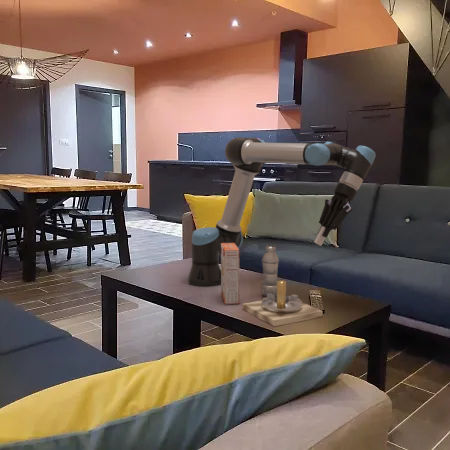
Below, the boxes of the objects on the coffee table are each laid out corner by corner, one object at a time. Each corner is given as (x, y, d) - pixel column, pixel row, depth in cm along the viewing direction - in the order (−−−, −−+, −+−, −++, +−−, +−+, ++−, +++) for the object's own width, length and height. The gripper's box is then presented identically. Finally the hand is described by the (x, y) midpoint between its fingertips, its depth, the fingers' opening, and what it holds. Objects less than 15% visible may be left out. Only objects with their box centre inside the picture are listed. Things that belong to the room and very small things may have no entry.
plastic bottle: (277, 298, 183) (278, 248, 180) (260, 297, 184) (261, 247, 181) (279, 294, 189) (280, 245, 186) (262, 293, 190) (263, 244, 187)
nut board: (242, 309, 170) (242, 303, 170) (287, 301, 180) (287, 295, 179) (274, 326, 153) (274, 320, 152) (322, 316, 162) (322, 310, 162)
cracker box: (220, 294, 189) (220, 242, 186) (235, 293, 189) (235, 242, 186) (223, 304, 175) (223, 249, 172) (239, 304, 176) (240, 249, 173)
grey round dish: (263, 299, 174) (263, 270, 172) (301, 301, 172) (302, 272, 170) (259, 313, 158) (260, 281, 156) (302, 315, 156) (302, 283, 154)
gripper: (366, 194, 168) (335, 252, 168) (342, 188, 179) (313, 243, 179) (353, 184, 164) (321, 244, 164) (329, 179, 176) (300, 235, 175)
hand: (317, 243), depth 172 cm, fingers closed
